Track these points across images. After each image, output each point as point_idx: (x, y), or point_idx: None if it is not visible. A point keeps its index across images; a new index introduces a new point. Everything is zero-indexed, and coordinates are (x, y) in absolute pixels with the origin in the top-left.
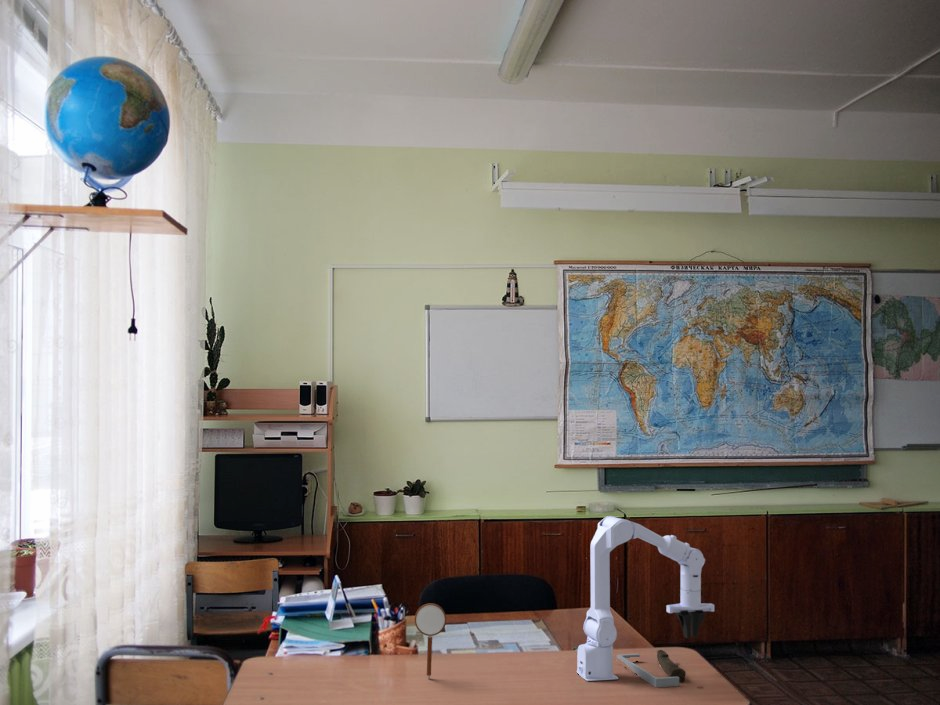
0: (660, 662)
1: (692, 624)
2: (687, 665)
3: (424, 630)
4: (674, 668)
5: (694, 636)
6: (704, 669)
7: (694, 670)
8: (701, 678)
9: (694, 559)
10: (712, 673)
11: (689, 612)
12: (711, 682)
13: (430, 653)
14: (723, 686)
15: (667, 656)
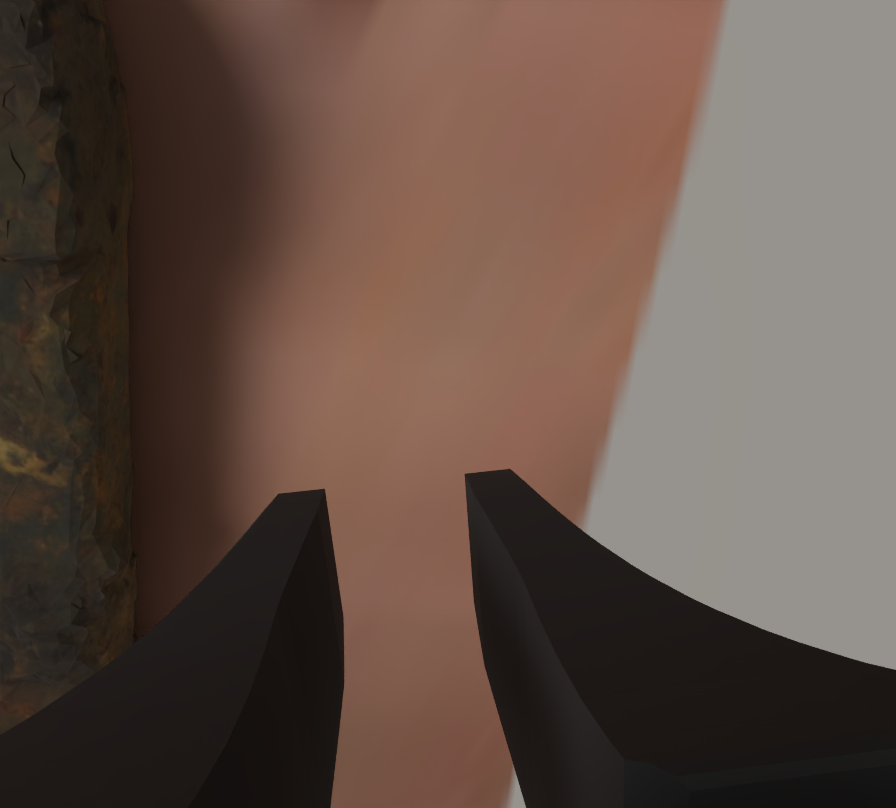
0: None
1: (527, 659)
2: (463, 80)
3: None
4: (13, 720)
5: (476, 596)
6: (595, 280)
7: (449, 309)
8: (387, 582)
9: None
10: (601, 433)
11: (618, 779)
12: (428, 692)
13: None
14: (480, 787)
15: (56, 262)
